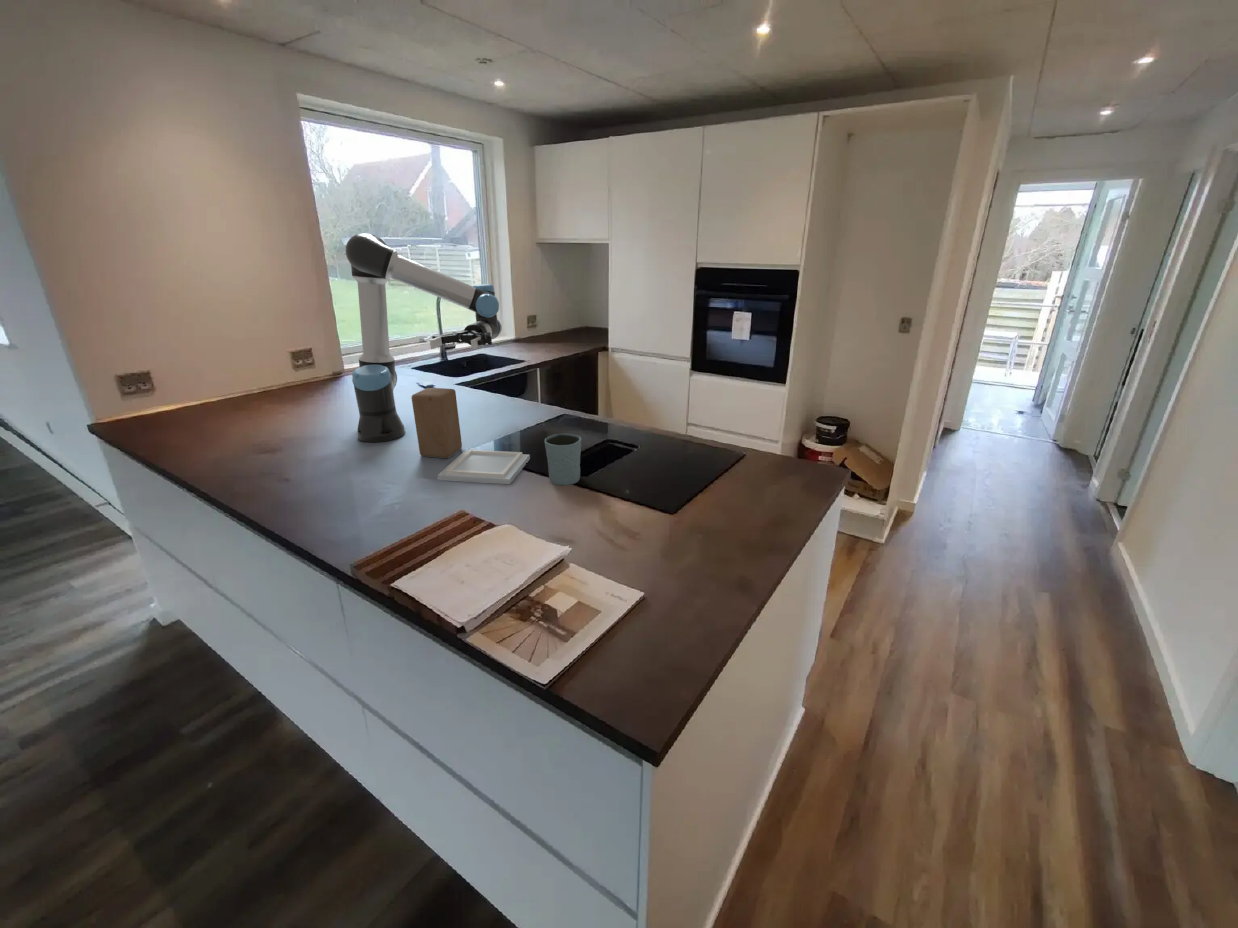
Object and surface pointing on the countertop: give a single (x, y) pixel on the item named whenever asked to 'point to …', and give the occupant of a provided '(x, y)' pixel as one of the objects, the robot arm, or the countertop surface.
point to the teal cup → (563, 458)
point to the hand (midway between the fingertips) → (451, 344)
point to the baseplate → (485, 467)
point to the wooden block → (437, 422)
